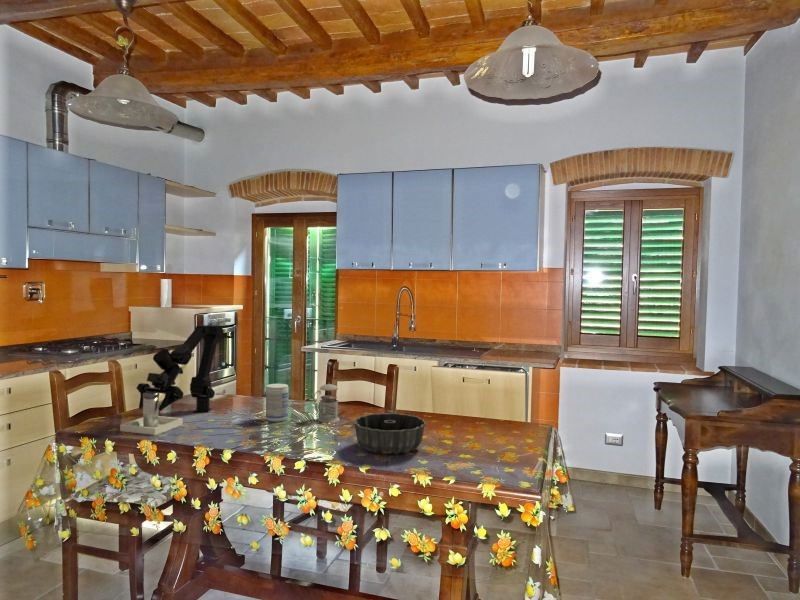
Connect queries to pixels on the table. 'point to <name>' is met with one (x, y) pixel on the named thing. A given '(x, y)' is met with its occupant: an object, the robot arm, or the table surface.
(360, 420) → the bundt pan
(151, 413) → the shaker
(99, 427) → the table surface
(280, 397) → the supplement tub
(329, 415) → the french press
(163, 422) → the tray
